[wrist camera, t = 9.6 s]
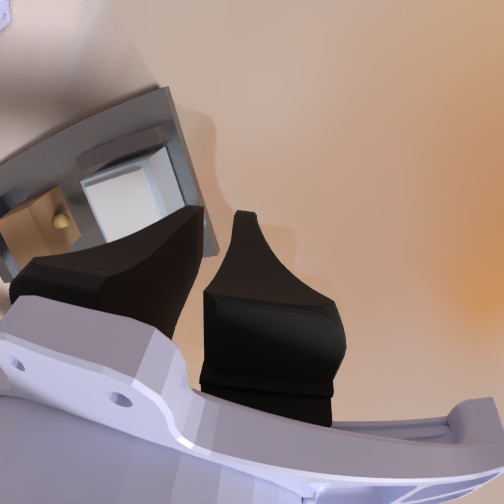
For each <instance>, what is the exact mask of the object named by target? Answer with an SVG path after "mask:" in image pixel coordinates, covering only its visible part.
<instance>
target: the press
mask: <svg viewBox="0 0 504 504" xmlns="http://www.w3.org/2000/svg"><path fill="white" fill-rule="evenodd" d="M164 146H165V148H166V151H167V154H168V157H169V160H170V163H171V166H172V169H173V172H174V175H175V178H176V181H177V184H178V187H179V190H180V193H181V196H182V199H183V202H184V204H185V206H186V205H196V206H204V240H203V256H202V258H203V257H210V256H216V255H218V253H219V250H220V249H219V246H218V243H217V240H216V237H215V234H214V231H213V228H212V225H211V222H210V218H209V215H208V212H207V209H206V206H205V203H204V200H203V197H202V194H201V191H200V187H199V184H198V181H197V178H196V175H195V172H194V168H193V165H192V162H191V159H190V156H189V152H188V149H187V146H186V143H185V139H184V136H183V133H182V130H181V126H180V123H179V120H178V116H177V113H176V110H175V106H174V103H173V100H172V96H171V93H170V89H169V87H163V88H161V89H158V90H155V91H152V92H149V93H147V94H144V95H141V96H139V97H136V98H133V99H131V100H128V101H126V102H123V103H121V104H118V105H116V106H114V107H111V108H109V109H107V110H104V111H102V112H100V113H97V114H95V115H93V116H91V117H89V118H87V119H84V120H82V121H80V122H78V123H76V124H74V125H72V126H70V127H68V128H66V129H64V130H62V131H60V132H58V133H56V134H54V135H52V136H50V137H48V138H47V139H45V140H43V141H41V142H39V143H37V144H36V145H34V146H32V147H30V148H29V149H27V150H25V151H23V152H22V153H20V154H18V155H17V156H15V157H13V158H12V159H10V160H9V161H7V162H5V163H4V164H2V165H1V166H0V218H1V217H3V216H4V215H5V214H7V213H8V212H9V211H11V210H12V209H13V208H14V207H16V206H17V205H18V204H20V203H21V202H23V201H24V200H25V199H28V198H30V197H32V196H34V195H36V194H39V193H41V192H43V191H46V190H48V189H50V188H53V187H55V186H57V185H59V187H60V189H61V191H62V194H63V196H64V198H65V201H66V203H67V205H68V207H69V210H70V212H71V214H72V216H73V219H74V221H75V223H76V225H77V227H78V229H79V231H80V233H81V236H80V237H79V238H78V239H77V240H76V241H75V243H74V244H73V245H72V246H71V247H70V248H69V249H68V250H67V251H66V252H65V253H70V252H75V251H80V250H84V249H88V248H92V247H95V246H99V245H102V244H105V243H107V242H106V240H105V238H104V236H103V234H102V231H101V229H100V227H99V225H98V222H97V220H96V218H95V216H94V213H93V211H92V209H91V206H90V204H89V202H88V199H87V197H86V195H85V192H84V190H83V187H82V185H81V181H82V180H83V179H85V178H86V177H88V176H89V175H91V174H92V173H93V172H95V171H96V170H98V169H99V168H101V167H103V166H106V165H108V164H111V163H114V162H117V161H120V160H123V159H126V158H129V157H132V156H135V155H138V154H141V153H144V152H147V151H151V150H154V149H157V148H160V147H164ZM20 271H21V270H20V268H19V266H18V265H17V263H16V261H15V259H14V257H13V255H12V254H11V252H10V250H9V248H8V246H7V244H6V242H5V240H4V238H3V236H2V234H1V232H0V276H1V278H2V280H3V282H4V283H8V282H11V281H12V280H13V279H14V278H15V277H16V276H17V275H18V274H19V272H20Z"/></svg>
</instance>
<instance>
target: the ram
mask: <svg viewBox="0 0 504 504" xmlns="http://www.w3.org/2000/svg"><path fill="white" fill-rule="evenodd" d="M81 185H82V187H83V190H84V192H85V195H86V197H87V199H88V202H89V204H90V206H91V209H92V211H93V213H94V216H95V218H96V220H97V222H98V225H99V227H100V229H101V231H102V234H103V236H104V238H105V240H106V242H107V243H109V242H112V241H115V240H118V239H120V238H123V237H125V236H128V235H130V234H132V233H135V232H137V231H139V230H141V229H143V228H145V227H147V226H149V225H151V224H153V223H155V222H157V221H159V220H160V219H162V218H164V217H166V216H168V215H169V214H171V213H173V212H175V211H176V210H178V209H180V208H182V207H184V206H185V204H184V202H183V199H182V196H181V193H180V190H179V187H178V184H177V181H176V178H175V175H174V172H173V169H172V166H171V163H170V160H169V157H168V154H167V151H166V148H165V146H164V147H160V148H157V149H154V150H151V151H147V152H144V153H141V154H138V155H135V156H132V157H129V158H126V159H123V160H120V161H117V162H114V163H111V164H108V165H106V166H103V167H101V168H99V169H98V170H96V171H95V172H93V173H92V174H91V175H89V176H88V177H86V178H85V179H83V180H82V181H81Z"/></svg>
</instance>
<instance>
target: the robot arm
mask: <svg viewBox="0 0 504 504" xmlns="http://www.w3.org/2000/svg"><path fill="white" fill-rule="evenodd" d="M5 15H6V17H5ZM10 22H11V13H10V6H9V0H0V32H1V31H2V30H4V29H5V28H6V27H7V26H8V25H9V24H10ZM203 240H204V206H196V205H186V206H184V207H182V208H180V209H178V210H176V211H175V212H173V213H171V214H169V215H168V216H166V217H164V218H162V219H160V220H159V221H157V222H155V223H153V224H151V225H149V226H147V227H145V228H143V229H141V230H139V231H137V232H135V233H132V234H130V235H128V236H125V237H123V238H120V239H118V240H115V241H112V242H109V243H105V244H102V245H99V246H95V247H92V248H88V249H84V250H80V251H75V252H70V253H64V254H57V255H49V256H40V257H33V258H32V259H31V261H30V262H29V263H28V264H27V265H26V266H25V267H24V268H23V269H22V270H21V271H20V272H19V274H18V275H17V276H16V277H15V278H14V279H13V280H12V281H11V283H10V287H9V294H10V301H11V304H12V306H11V307H10V309H9V310H8V311H7V312H6V314H5V315H4V316H3V318H2V319H1V320H0V504H440V503H445V502H448V501H452V500H455V499H458V498H462V497H464V496H466V495H468V494H470V493H471V492H473V491H475V490H476V489H478V488H480V487H481V486H483V485H485V484H486V483H488V482H489V481H491V480H493V479H494V478H496V477H497V476H499V475H500V474H502V473H503V472H504V429H503V426H502V422H501V420H500V417H499V414H498V411H497V408H496V405H495V403H494V400H493V398H492V397H486V398H478V399H470V400H466V401H463V402H461V403H459V404H458V405H456V406H455V407H454V408H453V409H452V410H451V411H450V413H449V414H448V416H445V417H436V418H425V419H412V420H398V421H397V420H396V421H363V422H347V421H346V422H345V421H343V422H342V421H332V410H331V398H332V396H333V394H334V388H333V380H334V377H335V375H336V373H337V371H338V369H339V367H340V365H341V362H342V360H343V358H344V355H345V351H346V337H345V332H344V328H343V324H342V321H341V318H340V315H339V312H338V310H337V307H336V305H335V302H334V301H333V300H331V299H329V298H328V297H326V296H324V295H322V294H320V293H319V292H317V291H315V290H313V289H312V288H310V287H309V286H307V285H306V284H305V283H303V282H302V281H300V280H299V279H298V278H297V277H295V276H294V275H293V274H292V273H291V272H290V271H289V270H288V269H287V268H286V267H285V266H284V265H283V264H282V263H281V262H280V261H279V260H278V258H277V257H276V256H275V254H274V253H273V251H272V250H271V248H270V247H269V245H268V243H267V242H266V240H265V238H264V236H263V234H262V232H261V229H260V227H259V224H258V221H257V215H256V214H255V212H249V211H241V210H237V212H236V213H235V215H234V221H233V229H232V237H231V242H230V246H229V248H228V251H227V253H226V256H225V258H224V260H223V262H222V264H221V267H220V268H219V270H218V272H217V274H216V275H215V277H214V279H213V280H212V281H211V282H210V284H209V285H208V286H207V288H206V289H205V290H204V291H203V309H204V362H203V366H202V370H201V374H200V379H199V384H201V391H198V390H195V389H192V388H190V386H189V383H188V379H187V369H186V363H185V361H184V359H183V357H182V355H181V353H180V351H179V349H178V347H177V345H176V344H175V343H174V342H173V341H171V340H172V337H173V333H174V330H175V326H176V324H177V321H178V318H179V316H180V313H181V311H182V309H183V307H184V304H185V302H186V300H187V297H188V295H189V293H190V290H191V288H192V286H193V284H194V281H195V279H196V277H197V274H198V271H199V267H200V264H201V260H202V256H203Z"/></svg>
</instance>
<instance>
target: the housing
mask: <svg viewBox="0 0 504 504" xmlns="http://www.w3.org/2000/svg"><path fill="white" fill-rule="evenodd" d="M0 232H1V234H2V236H3V238H4V240H5V242H6V244H7V246H8V248H9V250H10V252H11V254H12V255H13V257H14V259H15V261H16V263H17V265H18V266H19V268H20V270H22V269H23V268H24V267H25V266H26V265H27V264H28V263H29V262H30V261H31V259H32V258H33V257H40V256H49V255H57V254H64V253H65V252H66V251H67V250H68V249H69V248H70V247H71V246H72V245H73V244H74V243H75V241H76V240H77V239H78V238H79V237H80V236H81V233H80V231H79V229H78V227H77V225H76V223H75V221H74V219H73V216H72V214H71V212H70V210H69V207H68V205H67V203H66V201H65V198H64V196H63V194H62V191H61V189H60V187H59V185H57V186H55V187H53V188H50V189H48V190H46V191H43V192H41V193H39V194H36V195H34V196H32V197H30V198H28V199H25V200H24V201H23V202H21V203H20V204H18V205H17V206H16V207H14V208H13V209H12V210H11V211H9V212H8V213H7V214H5V215H4V216H3V217H1V218H0Z"/></svg>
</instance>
